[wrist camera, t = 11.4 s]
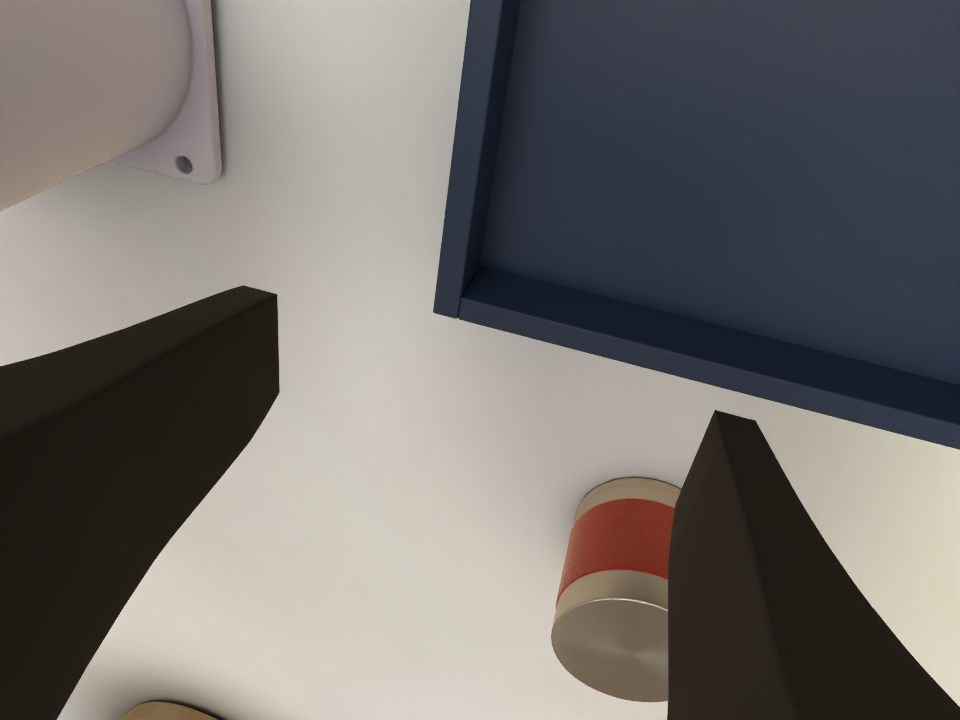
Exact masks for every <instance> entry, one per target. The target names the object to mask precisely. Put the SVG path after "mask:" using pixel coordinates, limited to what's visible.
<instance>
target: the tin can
mask: <svg viewBox="0 0 960 720" xmlns="http://www.w3.org/2000/svg"><path fill="white" fill-rule="evenodd" d="M680 492H681V490H680V489H679V488H677V487H675V486H672V485H670V484H667V483H664V482H661V481H657V480H652V479H645V478H625V479H618V480H614V481H610V482H607V483H604V484H602V485H600V486H598V487H596V488H595V489H593V490H592V491H591V492H589V493H588V494H587V495H586V496H585V497H584V499H583V500H582V501H581V503H580V504H579V506H578V509H577V512H576V515H575V520H574V525H573V528H572V531H571V534H570V539H569V543H568V548H567V553H566V558H565V563H564V568H563V572H562V577H561V582H560V587H559V592H558V597H557V602H556V613H555V618H554V623H553V628H552V634H551V640H552V646H553V649H554V652H555V654H556V656H557V658H558V660H559V661H560V663H561V664H562V665H563V666H564V668H565V669H566V670H567V671H568V672H569V673H570V674H572V675H573V676H574V677H575V678H577V679H578V680H579V681H581V682H582V683H584V684H586V685H587V686H589V687H591V688H593V689H595V690H597V691H599V692H602V693H604V694H607V695H610V696H613V697H617V698H621V699H625V700H631V701H639V702H663V701H668V557H669V549H670V541H671V533H672V525H673V518H674V511H675V504H676V501H677V499H678V497H679V494H680Z"/></svg>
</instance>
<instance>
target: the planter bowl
mask: <svg viewBox="0 0 960 720" xmlns="http://www.w3.org/2000/svg"><path fill="white" fill-rule="evenodd" d="M122 720H217V719H215V718H213V717H211V716H209V715H207V714H204V713H202V712H199V711H197V710H194V709H192V708H189V707H185V706H182V705H177V704H173V703H167V702H147V703H143V704H140V705H137V706H135V707H134V708H132V709H131V710H130V711H129V712H128V713H127V714H126V715H125V716H124V717H123V718H122Z"/></svg>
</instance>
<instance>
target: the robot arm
mask: <svg viewBox="0 0 960 720" xmlns="http://www.w3.org/2000/svg"><path fill="white" fill-rule="evenodd" d="M184 157H186V158H188V159H189V160H190V162H191V164H192V169H191V168H189V167H188V166H187V165H186V164H185V161H184ZM106 161H109V162H113V163H117V164H121V165H125V166H129V167H133V168H138V169H142V170H146V171H150V172H154V173H158V174H162V175H166V176H170V177H174V178H178V179H182V180H186V181H190V182H194V183H198V184H204V185H208V184H210V183H213V182H214V181H216V180H217V179H219V177H220V176H221V173H222V161H221V146H220V131H219V116H218V101H217V86H216V71H215V56H214V41H213V26H212V11H211V0H0V211H2V210H4V209H6V208H9V207H11V206H13V205H15V204H17V203H19V202H21V201H23V200H25V199H28V198H30V197H32V196H34V195H36V194H38V193H40V192H42V191H44V190H47V189H49V188H51V187H53V186H55V185H57V184H59V183H61V182H63V181H66V180H68V179H70V178H72V177H74V176H76V175H78V174H80V173H82V172H85V171H87V170H89V169H91V168H93V167H95V166H97V165H99V164H101V163H104V162H106ZM278 394H279V350H278V308H277V294H274V293H270V292H266V291H262V290H259V289H255V288H251V287H247V286H244V285H243V286H240V287H236V288H233V289H230V290H227V291H224V292H221V293H218V294H215V295H212V296H210V297H207V298H204V299H202V300H199V301H196V302H194V303H191V304H188V305H186V306H183V307H181V308H178V309H175V310H173V311H170V312H167V313H165V314H162V315H160V316H157V317H154V318H152V319H149V320H146V321H144V322H141V323H138V324H136V325H133V326H130V327H128V328H125V329H122V330H119V331H116V332H113V333H110V334H107V335H104V336H101V337H98V338H95V339H92V340H89V341H86V342H83V343H80V344H77V345H74V346H71V347H68V348H65V349H62V350H59V351H56V352H52V353H49V354H46V355H42V356H38V357H35V358H31V359H28V360H24V361H20V362H16V363H12V364H8V365H4V366H0V720H57V718H58V716H59V714H60V713H61V711H62V709H63V707H64V706H65V704H66V702H67V701H68V699H69V697H70V695H71V694H72V692H73V690H74V688H75V687H76V685H77V683H78V681H79V680H80V678H81V676H82V674H83V673H84V671H85V669H86V667H87V666H88V664H89V662H90V661H91V659H92V658H93V656H94V654H95V653H96V651H97V649H98V648H99V646H100V645H101V643H102V641H103V640H104V638H105V636H106V635H107V633H108V632H109V630H110V628H111V627H112V625H113V624H114V622H115V620H116V619H117V617H118V615H119V614H120V612H121V611H122V609H123V607H124V606H125V604H126V603H127V601H128V600H129V598H130V597H131V595H132V594H133V592H134V591H135V589H136V588H137V586H138V585H139V583H140V582H141V580H142V578H143V577H144V575H145V574H146V572H147V571H148V569H149V568H150V566H151V565H152V563H153V562H154V560H155V559H156V558H157V556H158V555H159V554H160V552H161V551H162V550H163V548H164V547H165V546H166V544H167V543H168V542H169V540H170V539H171V538H172V536H173V535H174V534H175V533H176V531H177V530H178V529H179V528H180V527H181V525H182V524H183V523H184V522H185V520H186V519H187V518H188V517H189V516H190V514H191V513H192V512H193V511H194V510H195V508H196V507H197V506H198V505H199V503H200V502H201V501H202V500H203V499H204V497H205V496H206V495H207V494H208V492H209V491H210V490H211V489H212V488H213V486H214V485H215V484H216V483H217V482H218V480H219V479H220V478H221V477H222V475H223V474H224V473H225V472H226V470H227V469H228V468H229V467H230V466H231V464H232V463H233V462H234V461H235V459H236V458H237V457H238V456H239V454H240V453H241V452H242V451H243V449H244V448H245V447H246V446H247V444H248V443H249V442H250V440H251V439H252V437H253V436H254V434H255V433H256V431H257V429H258V428H259V426H260V425H261V423H262V421H263V420H264V418H265V417H266V415H267V413H268V411H269V410H270V408H271V406H272V404H273V403H274V401H275V399H276V397H277V396H278ZM667 720H960V707H959V706H958V705H957V704H956V703H955V702H954V701H953V700H952V699H951V698H950V696H949V695H948V694H947V693H946V692H945V691H944V690H943V689H942V688H941V687H940V686H939V685H938V684H937V683H936V682H935V680H934V679H933V678H932V677H931V676H930V675H929V674H928V673H927V672H926V671H925V670H924V668H923V667H922V666H921V665H920V664H919V663H918V662H917V661H916V659H915V658H914V657H913V656H912V655H911V654H910V653H909V651H908V650H907V649H906V648H905V647H904V646H903V644H902V643H901V642H900V641H899V639H898V638H897V637H896V636H895V634H894V633H893V632H892V631H891V630H890V628H889V627H888V626H887V625H886V623H885V622H884V621H883V620H882V618H881V617H880V616H879V615H878V614H877V612H876V611H875V610H874V609H873V607H872V606H871V605H870V604H869V602H868V601H867V600H866V598H865V597H864V596H863V594H862V593H861V592H860V590H859V589H858V588H857V586H856V585H855V584H854V582H853V581H852V579H851V578H850V576H849V575H848V574H847V572H846V571H845V569H844V568H843V566H842V565H841V564H840V562H839V561H838V559H837V558H836V556H835V555H834V553H833V552H832V551H831V549H830V548H829V546H828V545H827V543H826V542H825V540H824V538H823V537H822V535H821V534H820V532H819V531H818V529H817V528H816V526H815V524H814V523H813V521H812V520H811V518H810V516H809V515H808V513H807V511H806V510H805V508H804V506H803V505H802V503H801V501H800V500H799V498H798V496H797V495H796V493H795V491H794V489H793V488H792V486H791V484H790V482H789V480H788V479H787V477H786V475H785V473H784V472H783V470H782V468H781V466H780V464H779V463H778V461H777V459H776V457H775V455H774V453H773V452H772V450H771V448H770V446H769V444H768V442H767V441H766V439H765V437H764V435H763V433H762V432H761V430H760V428H759V426H758V425H757V423H756V421H754V420H750V419H747V418H743V417H739V416H735V415H732V414H728V413H724V412H720V411H716V410H715V411H714V413H713V416H712V418H711V421H710V423H709V425H708V428H707V430H706V432H705V435H704V437H703V440H702V442H701V444H700V447H699V449H698V452H697V454H696V456H695V459H694V461H693V463H692V466H691V468H690V471H689V473H688V475H687V478H686V480H685V482H684V485H683V487H682V490H681V492H680V494H679V497H678V499H677V501H676V504H675V511H674V518H673V525H672V533H671V541H670V549H669V557H668V716H667Z"/></svg>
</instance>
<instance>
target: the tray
mask: <svg viewBox="0 0 960 720" xmlns="http://www.w3.org/2000/svg"><path fill="white" fill-rule="evenodd" d="M433 311H434V313H436V314H440V315H444V316H448V317H451V318H455V319H457V318H459V319H460V320H464V321H467V322H471V323H475V324H479V325H483V326H487V327H490V328H494V329H498V330H502V331H506V332H510V333H514V334H517V335H521V336H525V337H529V338H533V339H537V340H540V341H544V342H548V343H552V344H556V345H560V346H564V347H567V348H571V349H575V350H579V351H583V352H587V353H590V354H594V355H598V356H602V357H606V358H610V359H614V360H617V361H621V362H625V363H629V364H633V365H637V366H640V367H644V368H648V369H652V370H656V371H660V372H663V373H667V374H671V375H675V376H679V377H683V378H687V379H690V380H694V381H698V382H702V383H706V384H710V385H713V386H717V387H721V388H725V389H729V390H733V391H737V392H740V393H744V394H748V395H752V396H756V397H760V398H763V399H767V400H771V401H775V402H779V403H783V404H787V405H790V406H794V407H798V408H802V409H806V410H810V411H813V412H817V413H821V414H825V415H829V416H833V417H836V418H840V419H844V420H848V421H852V422H856V423H860V424H863V425H867V426H871V427H875V428H879V429H883V430H886V431H890V432H894V433H898V434H902V435H906V436H910V437H913V438H917V439H921V440H925V441H929V442H933V443H936V444H940V445H944V446H948V447H952V448H956V449H960V0H471V3H470V11H469V20H468V28H467V36H466V45H465V53H464V61H463V69H462V78H461V86H460V94H459V103H458V111H457V119H456V127H455V136H454V144H453V152H452V161H451V169H450V177H449V185H448V194H447V202H446V210H445V219H444V227H443V235H442V243H441V252H440V260H439V268H438V277H437V285H436V293H435V302H434V310H433Z"/></svg>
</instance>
